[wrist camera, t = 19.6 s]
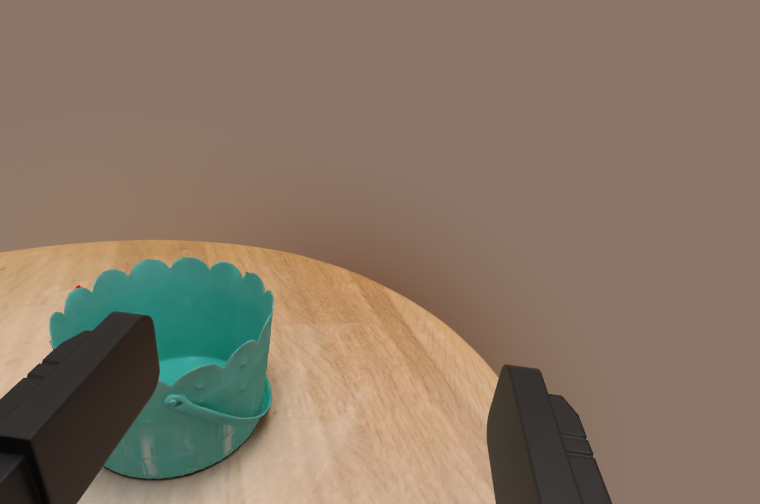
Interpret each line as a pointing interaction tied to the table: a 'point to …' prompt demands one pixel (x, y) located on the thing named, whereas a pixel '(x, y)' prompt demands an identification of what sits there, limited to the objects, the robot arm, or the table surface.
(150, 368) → the robot arm
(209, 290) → the basket
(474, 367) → the table surface
